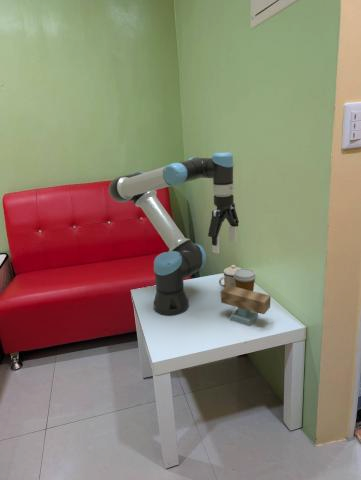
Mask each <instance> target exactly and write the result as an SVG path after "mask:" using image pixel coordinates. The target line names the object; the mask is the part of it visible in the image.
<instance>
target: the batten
mask: <svg viewBox="0 0 361 480" xmlns="http://www.w3.org/2000/svg"><path fill="white" fill-rule="evenodd" d="M271 297H272V296H271V295H270V294H265V293H262V292H257V291H254V290H253V291H250V290H246V289H242V288H238V287H234V286H229V285H228V286H227V287H225V288H224V287H223V288H222V290H221V291H220V303H221V304H226V305H229V306H232V307H236V308H238V307H239V308H242V309H246V310H250V311H253V312H257V313H258V314H262V315H265V314H266V313H267V312H268V311H269V309H270V308H271Z"/></svg>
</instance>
